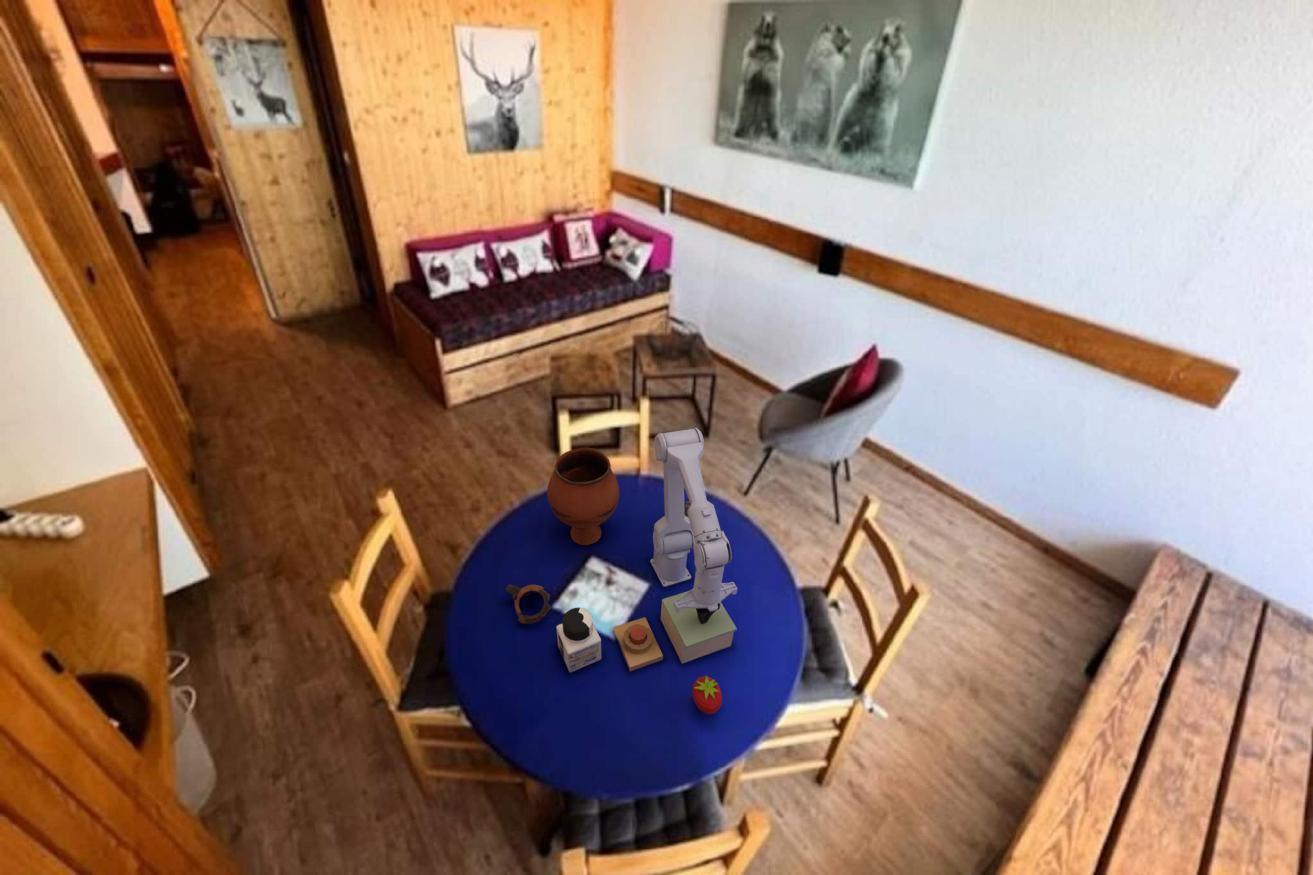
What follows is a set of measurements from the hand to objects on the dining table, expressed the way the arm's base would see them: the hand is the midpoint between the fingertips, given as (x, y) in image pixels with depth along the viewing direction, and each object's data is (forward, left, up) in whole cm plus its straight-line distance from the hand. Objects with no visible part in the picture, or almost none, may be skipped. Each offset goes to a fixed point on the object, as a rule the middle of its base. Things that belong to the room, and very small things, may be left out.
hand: (702, 620), depth 130 cm
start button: (-4, -14, -5) cm, 15 cm away
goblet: (-42, -15, -8) cm, 45 cm away
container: (-7, -27, -8) cm, 29 cm away
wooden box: (-2, 0, -8) cm, 8 cm away
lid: (-2, 0, -1) cm, 2 cm away
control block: (-4, -14, -8) cm, 16 cm away
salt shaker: (-33, +12, -8) cm, 36 cm away
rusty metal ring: (-23, -35, -8) cm, 43 cm away
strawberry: (+15, -6, -8) cm, 18 cm away
